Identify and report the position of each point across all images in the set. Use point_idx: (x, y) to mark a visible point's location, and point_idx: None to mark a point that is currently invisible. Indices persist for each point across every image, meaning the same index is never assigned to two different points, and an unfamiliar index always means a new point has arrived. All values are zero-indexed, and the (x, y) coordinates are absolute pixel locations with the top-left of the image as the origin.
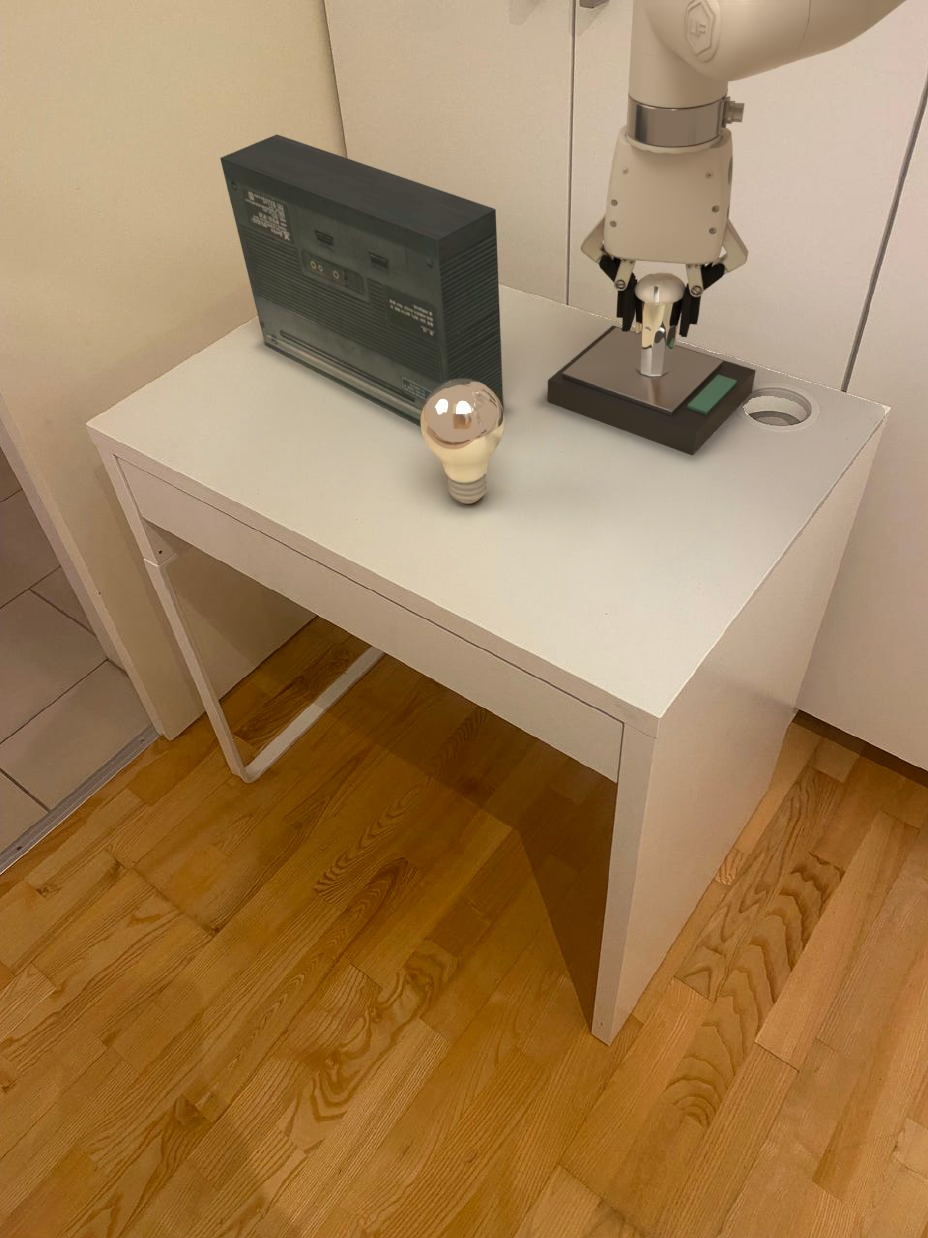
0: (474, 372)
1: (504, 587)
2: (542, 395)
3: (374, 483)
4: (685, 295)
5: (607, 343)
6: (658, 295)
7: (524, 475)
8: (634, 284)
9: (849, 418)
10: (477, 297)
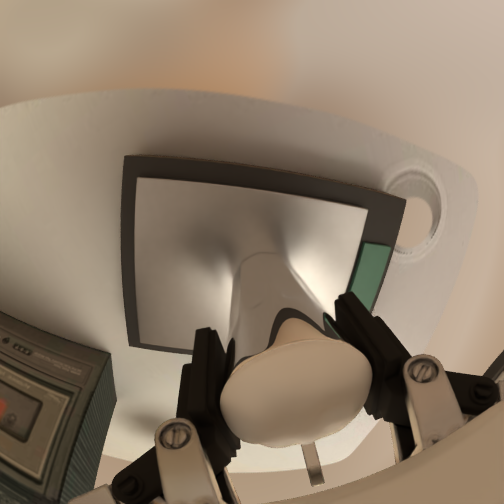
0: (96, 433)
1: (248, 462)
2: (123, 314)
3: (111, 434)
4: (375, 410)
5: (151, 241)
6: (315, 453)
7: None
8: (223, 428)
9: (465, 207)
10: None
